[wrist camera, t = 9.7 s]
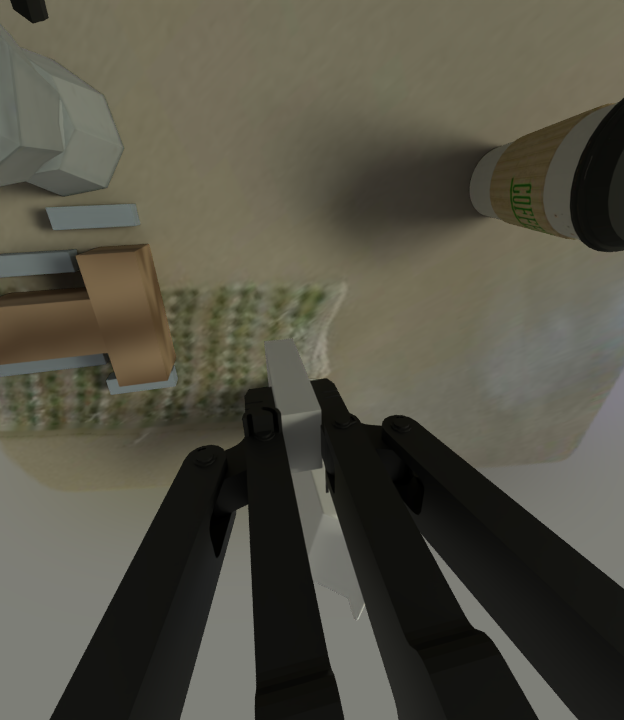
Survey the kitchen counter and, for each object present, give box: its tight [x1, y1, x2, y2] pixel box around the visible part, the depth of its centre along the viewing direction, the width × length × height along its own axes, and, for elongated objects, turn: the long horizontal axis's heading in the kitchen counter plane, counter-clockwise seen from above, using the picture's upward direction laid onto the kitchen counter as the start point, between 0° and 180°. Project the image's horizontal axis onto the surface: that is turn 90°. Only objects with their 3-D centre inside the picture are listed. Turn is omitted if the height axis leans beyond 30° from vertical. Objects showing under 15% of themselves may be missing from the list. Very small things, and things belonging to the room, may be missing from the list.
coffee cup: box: [469, 98, 624, 252], centre depth 27 cm, size 10×10×15 cm
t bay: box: [0, 204, 178, 395], centre depth 30 cm, size 17×15×2 cm
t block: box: [0, 244, 176, 387], centre depth 29 cm, size 11×12×5 cm
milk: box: [291, 379, 365, 620], centre depth 30 cm, size 6×6×22 cm
